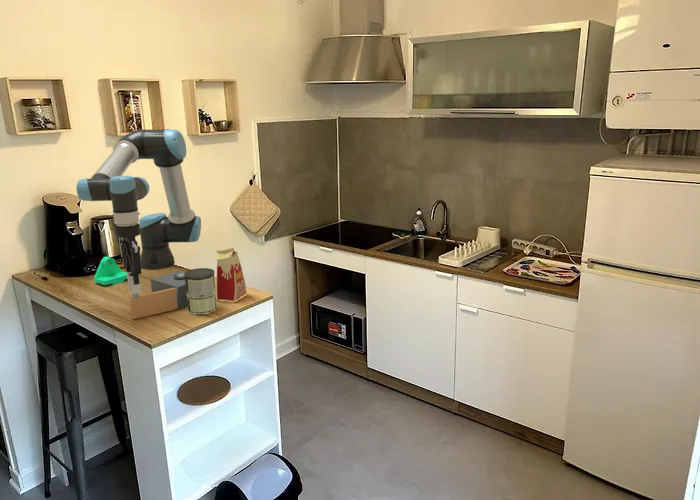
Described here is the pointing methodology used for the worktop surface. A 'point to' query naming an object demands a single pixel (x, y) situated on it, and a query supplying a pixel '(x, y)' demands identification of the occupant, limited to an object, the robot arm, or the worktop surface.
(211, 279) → the coffee can
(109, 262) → the camera mount
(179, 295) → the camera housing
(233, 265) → the red snack bag
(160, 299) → the side door
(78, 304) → the worktop surface
